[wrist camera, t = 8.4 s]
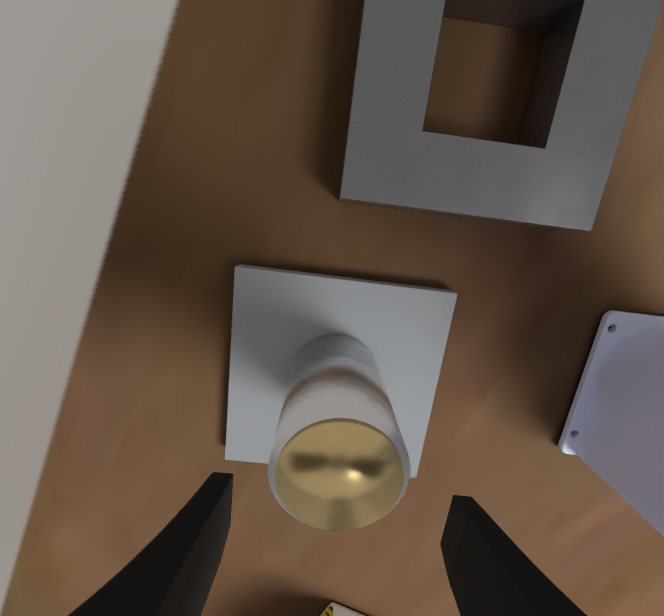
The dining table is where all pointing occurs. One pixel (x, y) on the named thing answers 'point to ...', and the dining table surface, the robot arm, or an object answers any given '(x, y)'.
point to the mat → (320, 319)
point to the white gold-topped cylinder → (337, 439)
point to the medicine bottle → (339, 611)
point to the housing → (489, 156)
